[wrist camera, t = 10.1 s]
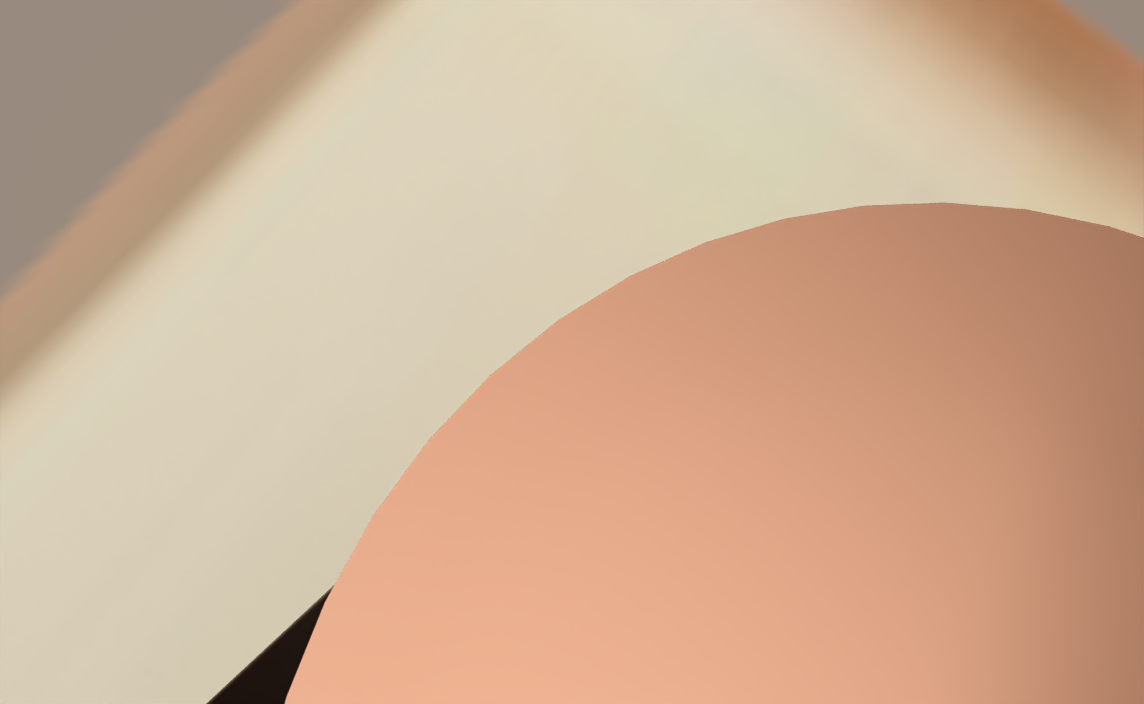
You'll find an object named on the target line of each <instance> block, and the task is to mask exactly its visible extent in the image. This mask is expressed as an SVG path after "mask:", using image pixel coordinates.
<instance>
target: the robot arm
mask: <svg viewBox="0 0 1144 704" xmlns="http://www.w3.org/2000/svg"><path fill="white" fill-rule="evenodd" d="M333 587H334V586H333ZM333 587H332V588H331V589H330V590H328V591H327V592H326V593H325V594H324V595H323V596H322V597H321V598H320V599H319V600H318V601H317V602H316V603H314V604H313V605H312V606H311V607H310V608H309V609H308V610H307V611H306V612H305V613H304V614H303V615H302V616H300V617H299V618H298V619H297V620H296V621H295V622H294V623H293V624H292V625H291V626H290V627H289V628H288V629H286V630H285V631H284V632H283V633H282V634H281V635H280V636H279V637H278V638H277V639H276V640H275V641H274V642H272V643H271V644H270V645H269V646H268V647H267V648H266V649H265V650H264V651H263V652H262V653H261V654H259V655H258V656H257V657H256V658H255V659H254V660H253V661H252V662H251V663H250V664H249V665H248V666H247V667H245V668H244V669H243V670H242V671H241V672H240V673H239V674H238V675H237V676H236V677H235V678H234V679H233V680H231V681H230V682H229V683H228V684H227V685H226V686H225V687H224V688H223V689H222V690H221V691H220V692H219V693H217V694H216V695H215V696H214V697H213V698H212V699H211V700H210V701H209V702H208V703H207V704H285V701H286V697H287V695H288V692H289V690H290V687H291V685H292V682H293V680H294V678H295V675H296V673H297V670H298V668H299V665H300V663H301V660H302V658H303V655H304V653H305V650H306V648H307V645H308V643H309V641H310V638H311V636H312V633H313V631H314V628H315V626H316V623H317V621H318V618H319V616H320V613H321V611H322V608H323V606H324V603H325V601H326V600H327V598H328V596H329V594H330V592H331V591H332V589H333Z"/></svg>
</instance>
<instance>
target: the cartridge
mask: <svg viewBox="0 0 1144 704" xmlns="http://www.w3.org/2000/svg"><path fill="white" fill-rule="evenodd" d="M285 704H1144V238H1142V237H1139V236H1136V235H1133V234H1130V233H1127V232H1124V231H1121V230H1118V229H1115V228H1112V227H1109V226H1104V225H1099V224H1094V223H1090V222H1085V221H1080V220H1075V219H1070V218H1065V217H1060V216H1055V215H1050V214H1046V213H1041V212H1036V211H1031V210H1025V209H1013V208H1001V207H989V206H977V205H966V204H954V203H926V204H899V205H873V206H860V207H854V208H848V209H842V210H836V211H829V212H823V213H817V214H811V215H805V216H799V217H793V218H787V219H782V220H779V221H775V222H772V223H769V224H765V225H762V226H759V227H755V228H752V229H749V230H745V231H742V232H739V233H735V234H732V235H729V236H725V237H722V238H719V239H715V240H712V241H709V242H705V243H703V244H701V245H699V246H696V247H694V248H692V249H690V250H687V251H685V252H683V253H681V254H679V255H676V256H674V257H672V258H670V259H667V260H665V261H663V262H661V263H658V264H656V265H654V266H652V267H649V268H647V269H645V270H643V271H640V272H638V273H636V274H634V275H632V276H630V277H628V278H626V279H625V280H623V281H621V282H620V283H618V284H617V285H615V286H613V287H612V288H610V289H608V290H607V291H605V292H604V293H602V294H600V295H599V296H597V297H595V298H594V299H592V300H590V301H589V302H587V303H586V304H584V305H582V306H581V307H579V308H577V309H576V310H574V311H573V312H571V313H569V314H568V315H566V316H564V317H563V318H561V319H560V320H558V321H557V322H556V323H554V324H553V325H552V326H551V327H549V328H548V329H547V330H546V331H544V332H543V333H542V334H541V335H539V336H538V337H537V338H536V339H535V340H533V341H532V342H531V343H530V344H528V345H527V346H526V347H525V348H523V349H522V350H521V351H520V352H518V353H517V354H516V355H515V356H514V357H512V358H511V359H510V360H509V361H507V362H506V363H505V364H504V365H502V366H501V367H500V368H499V369H498V370H496V371H495V372H494V373H493V374H491V375H490V376H489V377H488V378H487V379H486V380H485V382H484V383H483V384H482V385H481V386H480V387H479V388H478V389H477V390H476V391H475V392H474V393H473V394H472V395H471V396H470V397H469V398H468V399H467V400H466V402H465V403H464V404H463V405H462V406H461V407H460V408H459V409H458V410H457V411H456V412H455V413H454V414H453V415H452V416H451V417H450V418H449V419H448V420H447V421H446V423H445V424H444V425H443V426H442V427H441V428H440V429H439V430H438V431H437V432H436V433H435V434H434V435H433V436H432V437H431V438H430V439H429V440H428V442H427V443H426V444H425V446H424V447H423V449H422V450H421V451H420V453H419V454H418V455H417V457H416V458H415V459H414V461H413V462H412V464H411V465H410V466H409V468H408V469H407V470H406V472H405V473H404V474H403V476H402V477H401V479H400V480H399V481H398V483H397V484H396V485H395V487H394V488H393V489H392V491H391V492H390V494H389V495H388V496H387V498H386V499H385V500H384V502H383V503H382V504H381V506H380V507H379V509H378V510H377V511H376V513H375V514H374V515H373V517H372V519H371V520H370V522H369V524H368V526H367V528H366V529H365V531H364V533H363V535H362V537H361V538H360V540H359V542H358V544H357V546H356V547H355V549H354V551H353V553H352V555H351V556H350V558H349V560H348V562H347V564H346V565H345V567H344V569H343V571H342V573H341V574H340V576H339V578H338V580H337V582H336V583H335V585H334V587H333V589H332V591H331V592H330V594H329V596H328V598H327V600H326V601H325V603H324V606H323V608H322V611H321V613H320V616H319V618H318V621H317V623H316V626H315V628H314V631H313V633H312V636H311V638H310V641H309V643H308V645H307V648H306V650H305V653H304V655H303V658H302V660H301V663H300V665H299V668H298V670H297V673H296V675H295V678H294V680H293V682H292V685H291V687H290V690H289V692H288V695H287V697H286V701H285Z"/></svg>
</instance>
